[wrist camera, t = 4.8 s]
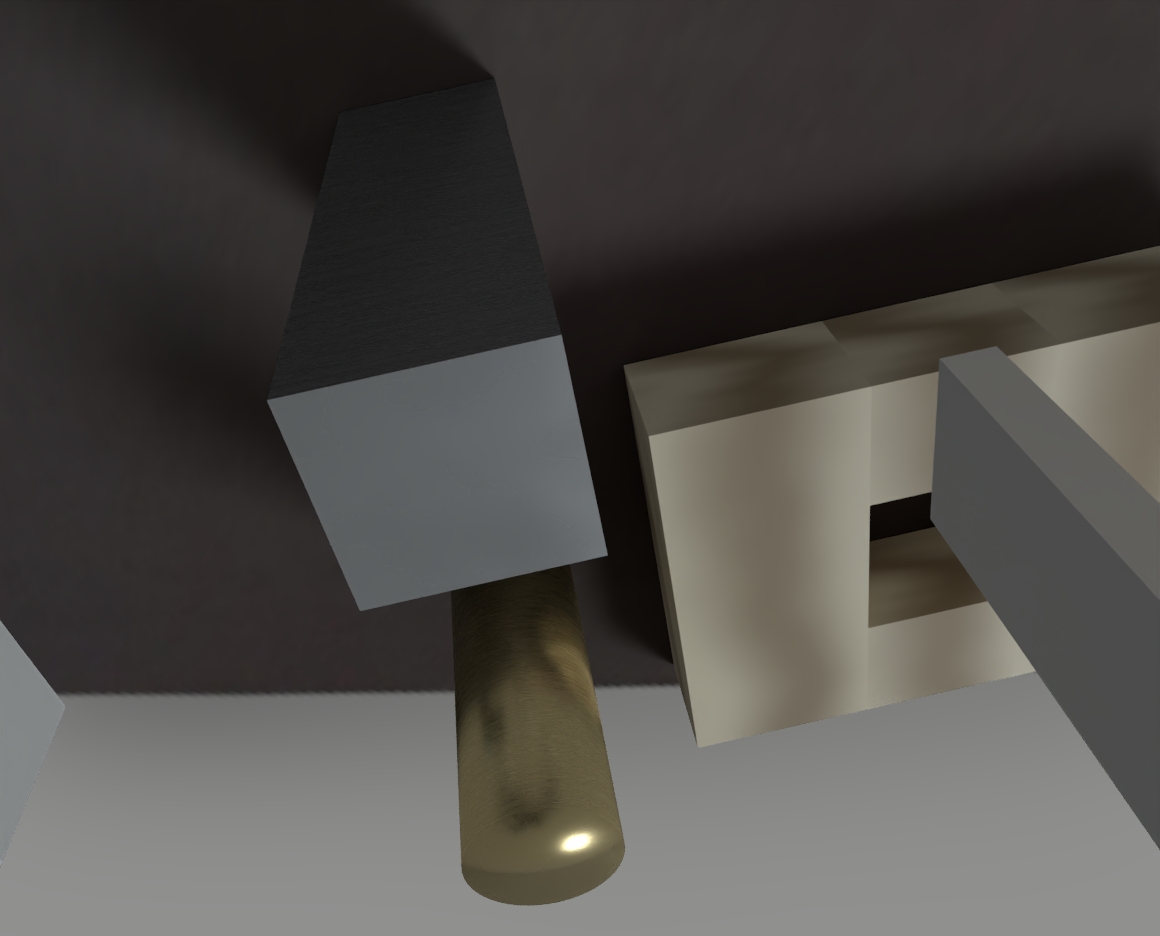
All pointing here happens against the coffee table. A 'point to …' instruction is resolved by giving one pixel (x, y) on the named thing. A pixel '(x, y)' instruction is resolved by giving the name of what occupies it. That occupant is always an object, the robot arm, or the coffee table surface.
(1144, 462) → the socket block
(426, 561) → the square bit
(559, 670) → the round bit
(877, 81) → the coffee table surface
